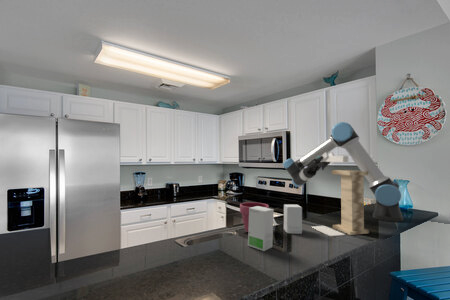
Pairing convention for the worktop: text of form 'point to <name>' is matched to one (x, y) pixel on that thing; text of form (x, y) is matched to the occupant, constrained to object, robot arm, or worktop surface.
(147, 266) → the worktop surface
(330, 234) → the notepad
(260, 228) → the skincare box
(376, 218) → the robot arm
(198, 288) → the worktop surface
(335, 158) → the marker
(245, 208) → the plant pot
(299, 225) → the supplement box
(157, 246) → the worktop surface
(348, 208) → the stand
